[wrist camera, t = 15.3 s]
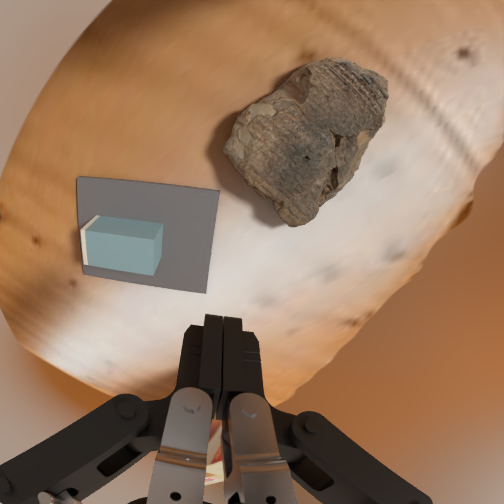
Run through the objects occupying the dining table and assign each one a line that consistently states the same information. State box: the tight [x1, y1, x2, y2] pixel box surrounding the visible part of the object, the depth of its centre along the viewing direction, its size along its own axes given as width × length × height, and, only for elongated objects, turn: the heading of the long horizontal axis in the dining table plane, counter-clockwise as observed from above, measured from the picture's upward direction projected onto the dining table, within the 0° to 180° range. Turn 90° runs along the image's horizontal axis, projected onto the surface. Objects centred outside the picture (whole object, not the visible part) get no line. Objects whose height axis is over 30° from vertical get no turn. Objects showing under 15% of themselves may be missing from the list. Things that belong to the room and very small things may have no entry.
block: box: [81, 215, 163, 276], centre depth 31 cm, size 4×4×9 cm
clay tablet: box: [223, 57, 389, 227], centre depth 27 cm, size 14×5×20 cm
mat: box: [77, 176, 220, 294], centre depth 33 cm, size 14×18×1 cm
